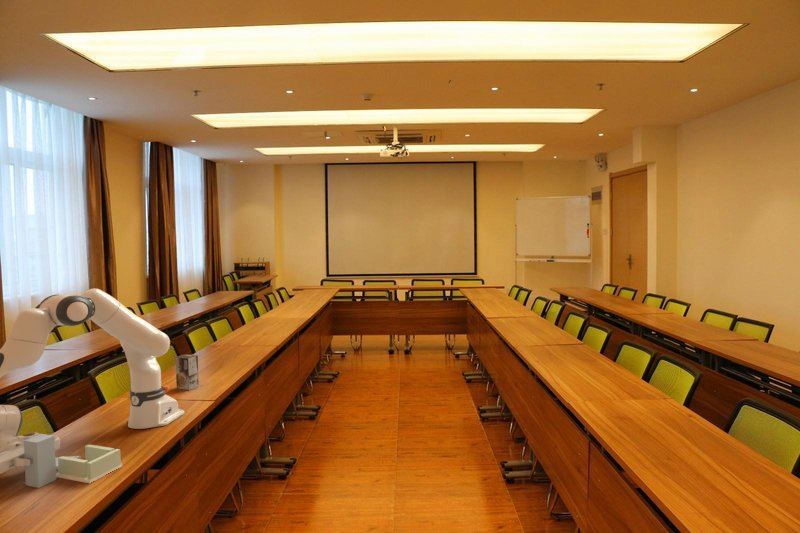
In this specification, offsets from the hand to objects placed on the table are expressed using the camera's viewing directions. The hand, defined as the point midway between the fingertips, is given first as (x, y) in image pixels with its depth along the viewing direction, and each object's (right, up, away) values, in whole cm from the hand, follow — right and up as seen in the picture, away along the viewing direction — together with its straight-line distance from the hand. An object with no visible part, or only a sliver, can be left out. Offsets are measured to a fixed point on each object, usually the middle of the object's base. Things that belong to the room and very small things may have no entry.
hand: (42, 457), depth 156 cm
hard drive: (-5, -8, +13) cm, 16 cm away
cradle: (+10, -7, +8) cm, 15 cm away
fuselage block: (-1, -8, +1) cm, 8 cm away
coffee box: (+3, -2, +99) cm, 99 cm away
